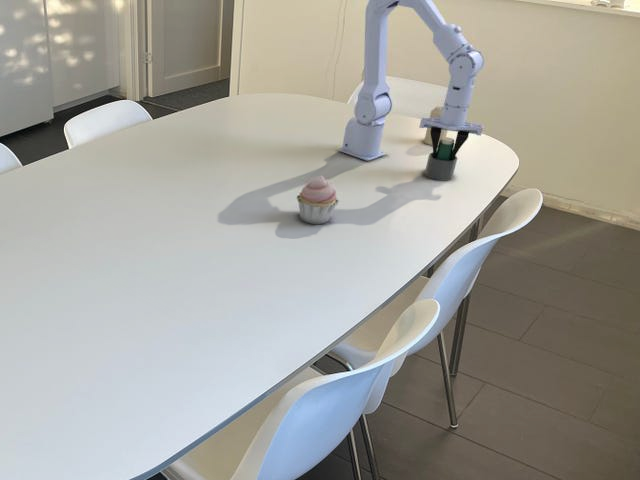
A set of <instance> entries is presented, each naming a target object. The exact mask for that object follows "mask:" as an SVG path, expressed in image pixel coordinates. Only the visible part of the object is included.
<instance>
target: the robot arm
mask: <svg viewBox="0 0 640 480" xmlns="http://www.w3.org/2000/svg"><path fill="white" fill-rule="evenodd" d="M398 6H400V7H405V8H410V9H413V11H414V12H415V13H416V14H417V15H418V17H419V18H420V19H421V20H422V21H423V23H424V24H425V25H426V27H427V28H428V29H429V30H430V31H431V32H432V34H433V35H432V44H433V45H434V46H435V47H436V49H437V50H438V51H439V53H440V54H441V55H442V57H443V59H445V61H446V63H447V64H448V73H449V75H450V79H449V83H448V86H447V90H446V95H445V98H444V101H443V106H442V107H443V110H442V114H441V118H440V119H433V118H430V117H428V118H426V117H421V119H420V123H419V129H424V128H426V129H427V128H431V132H430V134H431V139H432V144H433V145H432V152H433V158H436V153H437V149H438V143H439V139H440V135H441V130H448V131H449V132H457V133H456V136H455V140H454V147H453V151H452V155H451V159H450V161H452V160H454V157H455V156H457V153H458V152H459V150H460V149H461V147H462V146H463V145H464V144H465V142H466V141H468V138H469V134H473V135H476V136H482V133H483V129H484V125H483V124H476V123H472V122H468V121H466V119H467V115H468V111H469V108H470V104H471V100H472V97H473V93H474V88H475V83H476V80H477V74H479V73H480V71H481V70H482V69H483V67H484V63H485V59H484V56H483V54H482V51H480V50H479V49H477V48H476V49H475V48H474V46H473V44H470V43H469V42H468V41H467V39H466V38H465V37H464V36H463V34H462V33H461V32H462V31H463V30H462V28H461V26H459V25H458V26H457V25H456V24H455V23H447V22H446V20H445V19H444V17H443V15H442V14H441V12H440V10H439V9H438V8H437V5H436V4H435V3H434V1H433V0H368V2H367V5H366V7H365V12H364V13H365V16H364V17H365V20H364V21H365V23H364V54H363V55H364V57H363V58H364V60H363V61H364V62H363V84H362V86H361V88H360V90H359V92H358V93H357V101H356V103H355V105H354V110H353V112H354V113H353V114H354V116H352V117H351V118H350V119H349V120H348V121H347V123H346V126H345V130H344V135H343V141H342V146H341V148H340V149H339V151H340V152H341V153H345V154H346V155H349V156H353V157H354V158H358V159H361V160H363V161H367V162H369V161H371V160H375V159H378V158H381V157H383V156H386V152H383V151H381V150H380V149H381V148H380V147H381V143H382V138H383V133H384V129H385V123H386V117H387V116H388V115H389V114H390V113H391V111H392V110H393V99H392V97H391V90H390V89H391V88H390V86H389V85H388V82H387V55H388V32H389V31H388V28H389V26H388V25H389V15H391V13H392V12H393V11H394V10H395V9H396V8H397V7H398ZM448 131H447V132H448Z"/></svg>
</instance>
